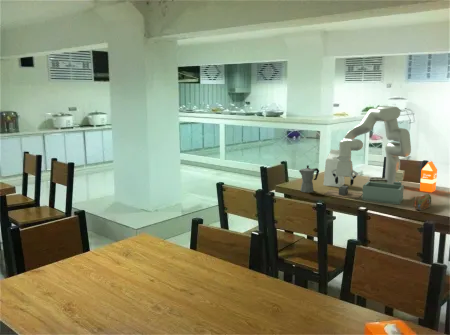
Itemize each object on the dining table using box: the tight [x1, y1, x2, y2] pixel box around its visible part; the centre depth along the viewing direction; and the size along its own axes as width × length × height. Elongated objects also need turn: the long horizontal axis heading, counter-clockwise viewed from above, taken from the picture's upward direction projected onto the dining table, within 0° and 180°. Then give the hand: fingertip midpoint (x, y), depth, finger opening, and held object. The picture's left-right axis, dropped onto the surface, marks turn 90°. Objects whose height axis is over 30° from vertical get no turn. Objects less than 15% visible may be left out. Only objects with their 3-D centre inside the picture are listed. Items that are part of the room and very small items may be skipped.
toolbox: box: [361, 181, 405, 205], centre depth 266 cm, size 18×22×10 cm
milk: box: [323, 148, 345, 188], centre depth 304 cm, size 12×12×26 cm
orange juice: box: [419, 161, 438, 193], centre depth 286 cm, size 8×9×20 cm
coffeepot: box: [298, 165, 320, 194], centre depth 287 cm, size 15×9×18 cm, turn 107°
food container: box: [368, 176, 388, 184], centre depth 282 cm, size 12×6×10 cm, turn 84°
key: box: [395, 169, 405, 182], centre depth 273 cm, size 8×4×6 cm, turn 149°
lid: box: [323, 185, 363, 200], centre depth 277 cm, size 14×23×6 cm, turn 59°
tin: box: [413, 193, 432, 211], centre depth 244 cm, size 15×3×8 cm, turn 126°
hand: (344, 184), depth 277 cm, fingers open, 9 cm apart
